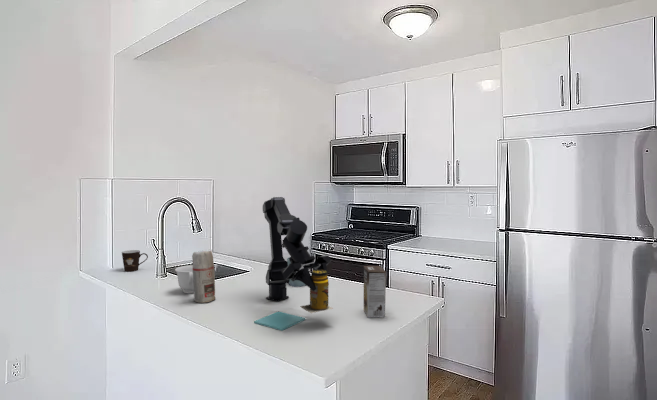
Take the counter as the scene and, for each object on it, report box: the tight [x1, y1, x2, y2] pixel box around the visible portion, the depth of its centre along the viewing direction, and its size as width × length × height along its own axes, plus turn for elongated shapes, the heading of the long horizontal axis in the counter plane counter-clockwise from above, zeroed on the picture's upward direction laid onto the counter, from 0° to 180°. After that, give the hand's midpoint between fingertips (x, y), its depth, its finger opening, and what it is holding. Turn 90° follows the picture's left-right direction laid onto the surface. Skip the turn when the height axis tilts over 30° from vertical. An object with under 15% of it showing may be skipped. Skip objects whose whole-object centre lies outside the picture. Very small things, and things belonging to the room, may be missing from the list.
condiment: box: [300, 270, 334, 314], centre depth 128 cm, size 7×8×12 cm
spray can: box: [191, 249, 216, 304], centre depth 155 cm, size 8×8×20 cm
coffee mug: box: [121, 249, 149, 273], centre depth 207 cm, size 12×9×10 cm
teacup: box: [174, 264, 194, 294], centre depth 166 cm, size 12×15×10 cm
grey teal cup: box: [286, 256, 310, 288], centre depth 180 cm, size 10×10×12 cm
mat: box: [253, 311, 306, 332], centre depth 132 cm, size 12×12×1 cm
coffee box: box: [362, 265, 387, 318], centre depth 140 cm, size 9×6×16 cm
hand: (321, 288), depth 128 cm, fingers closed on condiment, 6 cm apart
